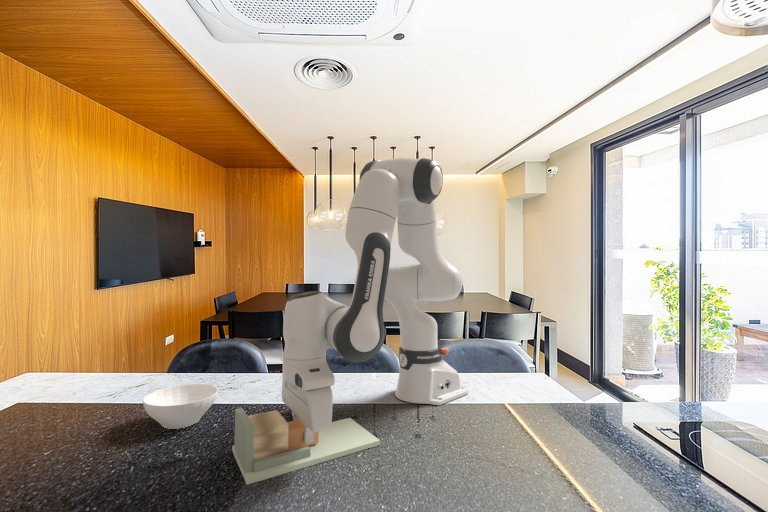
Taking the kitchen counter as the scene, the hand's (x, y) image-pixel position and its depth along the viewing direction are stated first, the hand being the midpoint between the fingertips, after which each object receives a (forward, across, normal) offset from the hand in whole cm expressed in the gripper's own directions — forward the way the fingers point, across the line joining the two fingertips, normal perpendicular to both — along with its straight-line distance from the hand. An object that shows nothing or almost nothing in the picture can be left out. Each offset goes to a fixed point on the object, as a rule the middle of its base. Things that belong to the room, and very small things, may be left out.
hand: (303, 436), depth 75 cm
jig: (+2, 0, +1) cm, 3 cm away
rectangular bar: (+1, 0, -4) cm, 4 cm away
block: (+1, 0, -8) cm, 8 cm away
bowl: (+3, -28, -21) cm, 35 cm away
